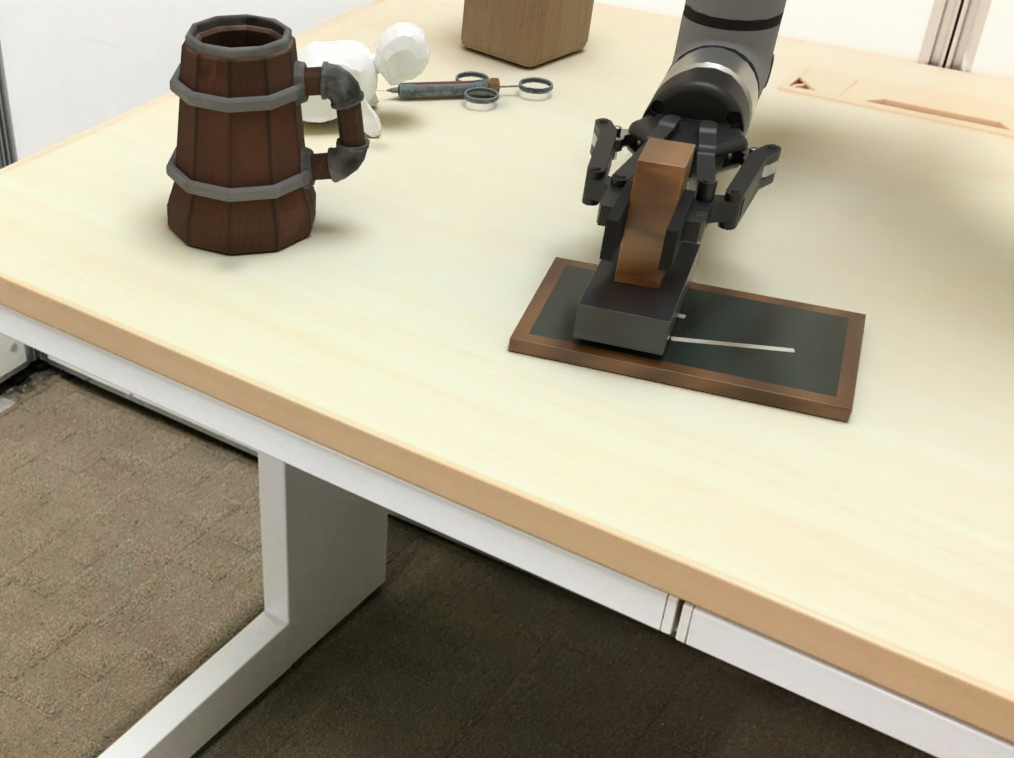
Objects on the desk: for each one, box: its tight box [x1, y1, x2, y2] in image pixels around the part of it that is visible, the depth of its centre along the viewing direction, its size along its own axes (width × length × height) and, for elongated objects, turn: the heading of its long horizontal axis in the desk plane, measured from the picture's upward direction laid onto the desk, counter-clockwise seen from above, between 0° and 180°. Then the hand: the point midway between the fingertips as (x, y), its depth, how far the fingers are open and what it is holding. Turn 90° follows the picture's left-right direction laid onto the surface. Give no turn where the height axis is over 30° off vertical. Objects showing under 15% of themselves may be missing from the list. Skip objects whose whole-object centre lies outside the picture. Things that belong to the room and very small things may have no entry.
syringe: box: [377, 70, 554, 105], centre depth 121 cm, size 8×18×2 cm, turn 95°
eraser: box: [573, 138, 701, 356], centre depth 83 cm, size 6×12×11 cm, turn 156°
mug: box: [165, 13, 371, 255], centre depth 95 cm, size 16×12×15 cm
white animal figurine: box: [297, 21, 431, 138], centre depth 114 cm, size 9×8×15 cm
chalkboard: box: [507, 256, 867, 423], centre depth 86 cm, size 22×13×1 cm, turn 66°
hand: (638, 245), depth 78 cm, fingers closed on eraser, 3 cm apart
